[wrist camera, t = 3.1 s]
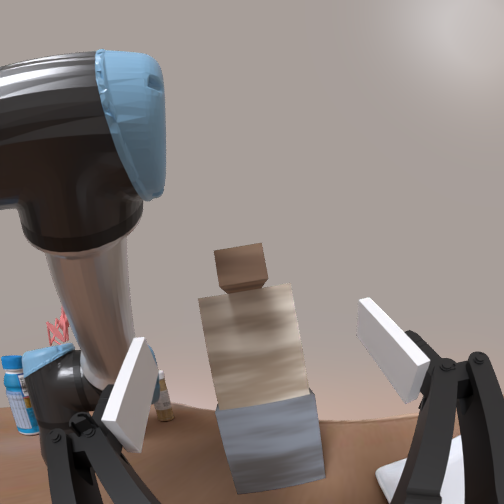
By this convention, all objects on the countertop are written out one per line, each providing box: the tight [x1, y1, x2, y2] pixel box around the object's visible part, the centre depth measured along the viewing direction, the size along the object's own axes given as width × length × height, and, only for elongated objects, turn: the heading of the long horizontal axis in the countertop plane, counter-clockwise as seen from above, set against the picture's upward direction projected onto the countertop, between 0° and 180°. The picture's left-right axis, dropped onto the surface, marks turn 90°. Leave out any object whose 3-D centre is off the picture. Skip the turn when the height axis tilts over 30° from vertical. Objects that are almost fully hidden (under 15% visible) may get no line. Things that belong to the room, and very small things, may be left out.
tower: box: [198, 283, 325, 494], centre depth 38 cm, size 19×12×28 cm, turn 1°
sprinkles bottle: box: [154, 370, 174, 421], centre depth 60 cm, size 5×5×13 cm
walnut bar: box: [214, 243, 268, 294], centre depth 36 cm, size 28×4×3 cm, turn 1°
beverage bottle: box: [1, 356, 39, 435], centre depth 40 cm, size 8×8×20 cm
